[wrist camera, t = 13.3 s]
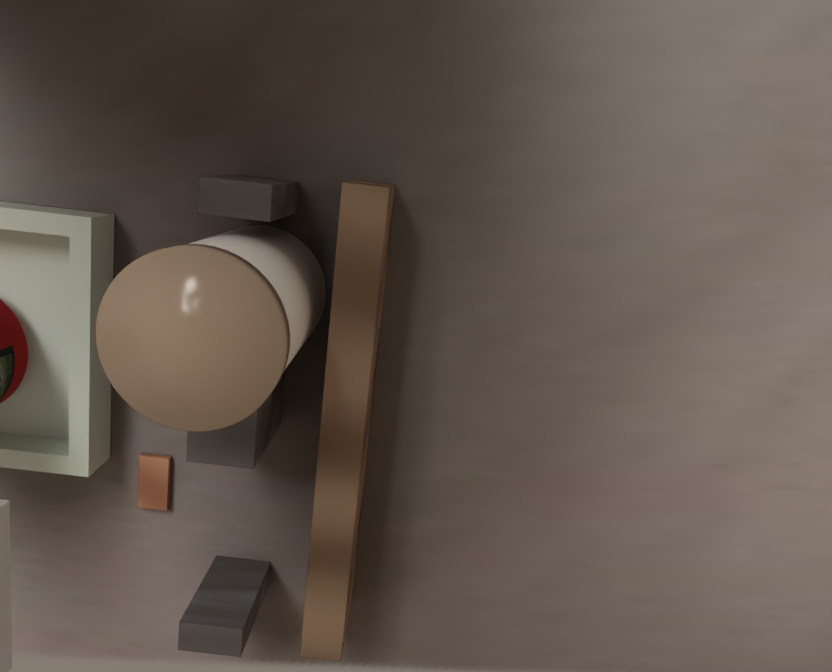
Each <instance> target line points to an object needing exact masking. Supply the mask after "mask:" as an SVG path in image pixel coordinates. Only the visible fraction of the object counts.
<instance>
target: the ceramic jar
mask: <svg viewBox="0 0 832 672" xmlns="http://www.w3.org/2000/svg"><path fill="white" fill-rule="evenodd" d="M325 301H326V286H325V279H324V275H323V272H322V270H321V267H320V265H319V263H318V261H317V259H316V257H315V256H314V255H313V253H312V252H311V251H310V249H309V248H308V247H307V246H306V245H305V244H304V243H303V242H301V241H300V240H299V239H298V238H296V237H295V236H293V235H291V234H290V233H288V232H285V231H283V230H281V229H278V228H274V227H269V226H260V225H254V226H246V227H241V228H238V229H234V230H231V231H228V232H225V233H222V234H218V235H215V236H212V237H209V238H205V239H202V240H199V241H196V242H192V243H189V244H182V245H175V246H171V247H167V248H163V249H160V250H157V251H154V252H151V253H148V254H146V255H144V256H142V257H140V258H138V259H136V260H134V261H133V262H132V263H130V264H129V265H128V266H126V267H125V268H124V269H123V270H122V271H121V272H120V273H119V274H118V275H117V276H116V277H115V279H114V280H113V281H112V283H111V284H110V285H109V287H108V289H107V290H106V292H105V294H104V296H103V299H102V301H101V304H100V307H99V311H98V315H97V321H96V344H97V349H98V355H99V358H100V361H101V364H102V367H103V369H104V371H105V373H106V375H107V378H108V379H109V381H110V382H111V384H112V386H113V387H114V389H115V390H116V391H117V392H118V394H119V395H120V396H121V397H122V398H123V399H124V400H125V401H126V402H127V403H128V404H129V405H130V406H131V407H132V408H134V409H135V410H136V411H138V412H139V413H140V414H142V415H143V416H145V417H147V418H148V419H150V420H152V421H154V422H157V423H159V424H161V425H164V426H167V427H170V428H173V429H178V430H184V431H198V432H199V431H211V430H216V429H221V428H224V427H227V426H230V425H233V424H235V423H237V422H239V421H241V420H243V419H245V418H246V417H248V416H249V415H250V414H252V413H253V412H254V411H255V410H257V409H258V408H259V407H260V406H261V405H262V404H263V403H264V401H265V400H266V399H267V398H268V397H269V395H270V394H271V393H272V391H273V390H274V388H275V387H276V385H277V384H278V382H279V380H280V379H281V377H282V374H283V372H284V370H285V369H286V367H287V366H288V365H289V363H290V362H291V361H292V359H293V358H294V357H295V355H296V354H297V352H298V351H299V350H300V348H301V347H302V346H303V344H304V343H305V341H306V340H307V339H308V337H309V336H310V335H311V333H312V332H313V331H314V329H315V328H316V326H317V324H318V323H319V321H320V319H321V316H322V314H323V310H324V307H325Z"/></svg>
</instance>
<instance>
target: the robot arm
mask: <svg viewBox="0 0 832 672" xmlns="http://www.w3.org/2000/svg"><path fill="white" fill-rule="evenodd" d="M11 668H12V626H11V563H10V500H3V499H0V672H9V671H10V669H11Z"/></svg>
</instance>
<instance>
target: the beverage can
mask: <svg viewBox="0 0 832 672" xmlns="http://www.w3.org/2000/svg"><path fill="white" fill-rule="evenodd" d="M27 364H28V346H27V340H26V337H25V334H24V331H23V328H22V326H21V324H20V322H19V320H18V319H17V317H16V316H15V314H14V313H13V312H12V310H11V309H10V308H9V307H8V306H7V305H6V304H5V303H4V302H3V301H2V300H1V299H0V403H2V402H3V401H5V400H6V399H7V398H9V397H10V396H11V395H12V394H13V393H14V392H15V391H16V389H17V388H18V387H19V385H20V384H21V382H22V380H23V378H24V375H25V372H26V369H27Z"/></svg>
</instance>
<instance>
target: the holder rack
mask: <svg viewBox="0 0 832 672" xmlns="http://www.w3.org/2000/svg"><path fill="white" fill-rule="evenodd" d="M298 187H299V182H293V181H284V180H276V179H267V178H259V177H250V176H242V175H224V176H199V190H198V214H207V215H215V216H224V217H232V218H241V219H250V220H258V221H267V222H271V221H274V220H277V219H280V218H283V217H286V216H289V215H292V214H295V213H297V200H298ZM394 193H395V185H391V184H382V183H373V182H365V181H356V180H353V181H347V182H342V189H341V200H340V211H339V223H338V234H337V245H336V256H335V268H334V279H333V290H332V302H331V313H330V324H329V335H328V347H327V358H326V369H325V380H324V392H323V403H322V414H321V426H320V437H319V448H318V459H317V471H316V482H315V493H314V505H313V516H312V527H311V538H310V550H309V561H308V572H307V584H306V595H305V606H304V617H303V629H302V640H301V651H300V657H306V658H315V659H323V660H332V661H341V655H342V650H343V645H344V639H345V634H346V629H347V623H348V618H349V612H350V607H351V601H352V592H353V582H354V573H355V563H356V554H357V544H358V535H359V525H360V516H361V506H362V497H363V487H364V478H365V468H366V459H367V449H368V440H369V430H370V421H371V411H372V402H373V392H374V383H375V373H376V364H377V354H378V345H379V335H380V326H381V316H382V307H383V297H384V288H385V278H386V269H387V259H388V250H389V240H390V231H391V221H392V212H393V202H394ZM284 373H285V372H283V374H282V377H281V379H280V380H279V382H278V384H277V385H276V387H275V388H274V390H273V391H272V393H271V394H270V395H269V397H268V398H267V399H266V400H265V401H264V403H263V404H262V405H261V406H260V407H259V408H258V409H257V410H255V411H254V412H253V413H252V414H250V415H249V416H248V417H246V418H245V419H243V420H241V421H239V422H237V423H235V424H233V425H230V426H227V427H224V428H221V429H216V430H211V431H199V432H198V431H188V438H187V461H189V462H198V463H207V464H215V465H224V466H233V467H241V468H250V469H254V467H255V465H256V463H257V462H258V460H259V458H260V457H261V455H262V453H263V452H264V450H265V448H266V447H267V445H268V443H269V442H270V440H271V438H272V437H273V435H274V433H275V432H276V430H277V428H278V427H279V425H280V423H281V412H282V399H283V386H284ZM170 481H171V456H165V455H157V454H148V453H141V454H140V455H139V465H138V501H137V507H138V508H147V509H156V510H164V511H167V510H168V509H169V506H170ZM269 572H270V562H265V561H257V560H248V559H239V558H231V557H222V556H216V557H215V559H214V561H213V563H212V565H211V566H210V568H209V570H208V572H207V574H206V575H205V577H204V579H203V581H202V583H201V584H200V586H199V588H198V590H197V591H196V593H195V595H194V597H193V599H192V600H191V602H190V604H189V606H188V608H187V609H186V611H185V613H184V615H183V617H182V618H181V620H180V622H179V642H178V650H184V651H193V652H201V653H210V654H219V655H228V656H236V657H241V655H242V652H243V650H244V647H245V645H246V642H247V640H248V637H249V634H250V632H251V629H252V627H253V624H254V622H255V619H256V617H257V614H258V611H259V609H260V606H261V604H262V601H263V599H264V596H265V594H266V591H267V589H268V585H269Z"/></svg>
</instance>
